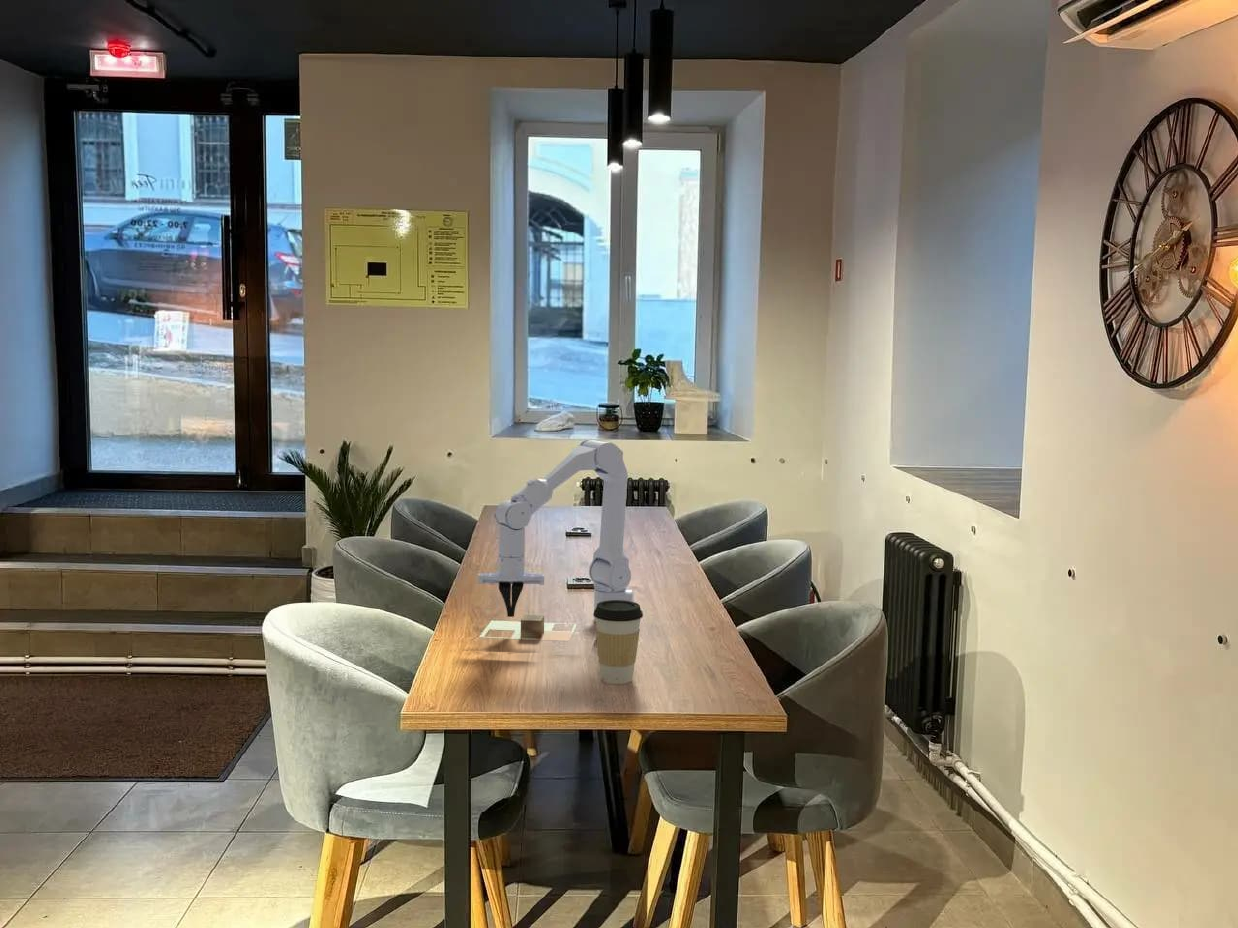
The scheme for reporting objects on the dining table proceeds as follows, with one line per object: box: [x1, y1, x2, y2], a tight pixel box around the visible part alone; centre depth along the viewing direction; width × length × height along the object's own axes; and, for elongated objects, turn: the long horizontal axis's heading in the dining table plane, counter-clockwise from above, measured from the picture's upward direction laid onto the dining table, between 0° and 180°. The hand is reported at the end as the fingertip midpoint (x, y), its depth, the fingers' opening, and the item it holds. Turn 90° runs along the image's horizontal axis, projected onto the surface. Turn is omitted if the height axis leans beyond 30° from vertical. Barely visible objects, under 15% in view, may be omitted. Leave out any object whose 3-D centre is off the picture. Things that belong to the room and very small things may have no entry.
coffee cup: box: [593, 600, 644, 685], centre depth 209 cm, size 10×10×15 cm
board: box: [478, 620, 578, 642], centre depth 238 cm, size 20×14×2 cm
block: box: [520, 614, 545, 639], centre depth 234 cm, size 4×4×4 cm
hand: (510, 615), depth 234 cm, fingers closed
